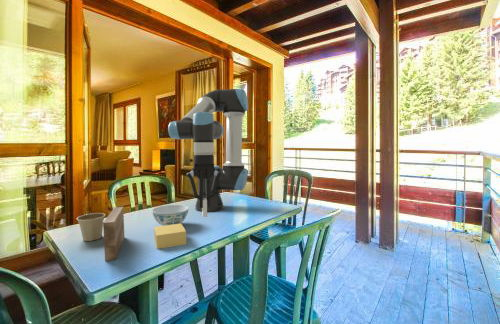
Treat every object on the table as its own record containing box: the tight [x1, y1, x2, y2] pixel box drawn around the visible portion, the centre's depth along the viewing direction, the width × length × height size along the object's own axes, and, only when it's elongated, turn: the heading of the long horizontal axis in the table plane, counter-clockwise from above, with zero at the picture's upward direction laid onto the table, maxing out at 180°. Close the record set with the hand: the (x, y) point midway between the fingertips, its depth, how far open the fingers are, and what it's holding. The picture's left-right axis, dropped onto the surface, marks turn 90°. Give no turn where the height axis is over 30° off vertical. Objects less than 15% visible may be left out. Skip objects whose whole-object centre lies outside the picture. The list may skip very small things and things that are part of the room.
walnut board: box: [102, 206, 125, 262], centre depth 90 cm, size 3×20×12 cm, turn 18°
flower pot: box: [76, 212, 106, 242], centre depth 99 cm, size 9×9×9 cm
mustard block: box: [153, 222, 187, 250], centre depth 96 cm, size 10×10×5 cm
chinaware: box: [151, 204, 189, 226], centre depth 113 cm, size 15×15×8 cm
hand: (204, 216), depth 99 cm, fingers closed
